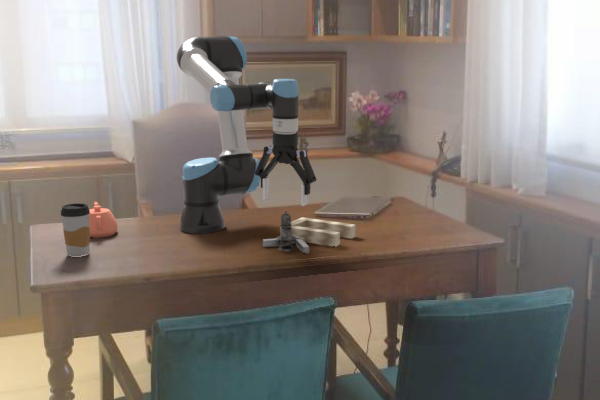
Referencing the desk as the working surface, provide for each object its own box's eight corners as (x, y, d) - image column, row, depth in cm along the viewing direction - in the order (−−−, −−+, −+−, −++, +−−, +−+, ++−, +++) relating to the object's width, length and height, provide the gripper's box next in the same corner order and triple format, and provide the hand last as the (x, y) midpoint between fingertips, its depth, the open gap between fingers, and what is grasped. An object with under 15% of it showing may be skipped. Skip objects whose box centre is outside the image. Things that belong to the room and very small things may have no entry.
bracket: (280, 238, 239) (280, 226, 238) (302, 228, 250) (302, 217, 249) (335, 246, 229) (335, 234, 228) (355, 236, 240) (355, 224, 239)
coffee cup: (82, 249, 228) (78, 201, 225) (98, 254, 223) (95, 205, 220) (58, 255, 222) (54, 206, 219) (74, 260, 217) (70, 210, 214)
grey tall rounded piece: (293, 252, 224) (293, 213, 221) (274, 251, 225) (274, 212, 222) (297, 246, 229) (297, 208, 227) (279, 245, 230) (278, 208, 228)
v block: (277, 239, 238) (277, 233, 238) (323, 246, 230) (323, 240, 229) (260, 246, 230) (260, 240, 229) (307, 254, 221) (307, 247, 221)
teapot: (80, 242, 237) (78, 213, 235) (79, 228, 253) (77, 201, 251) (119, 238, 240) (117, 210, 238) (116, 225, 257) (114, 198, 255)
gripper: (243, 130, 222) (244, 198, 227) (315, 137, 210) (314, 210, 215) (257, 126, 228) (257, 193, 234) (328, 134, 216) (327, 204, 221)
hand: (285, 201), depth 224 cm, fingers open, 13 cm apart
